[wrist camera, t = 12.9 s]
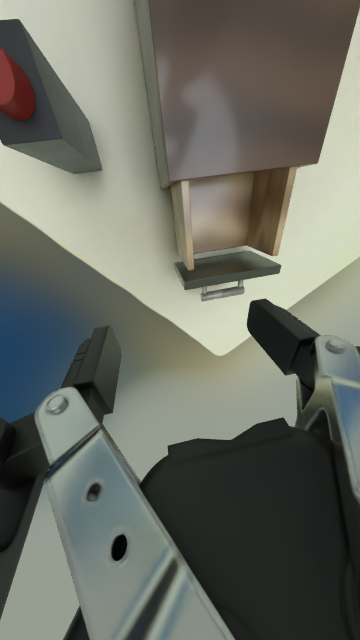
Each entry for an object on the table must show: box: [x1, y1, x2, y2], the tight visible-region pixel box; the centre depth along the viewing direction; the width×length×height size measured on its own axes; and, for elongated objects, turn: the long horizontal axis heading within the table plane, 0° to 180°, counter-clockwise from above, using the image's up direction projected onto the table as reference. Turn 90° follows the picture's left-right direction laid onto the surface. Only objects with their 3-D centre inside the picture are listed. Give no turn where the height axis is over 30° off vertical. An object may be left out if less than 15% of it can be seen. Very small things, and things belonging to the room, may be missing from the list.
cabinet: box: [134, 0, 360, 189], centre depth 15 cm, size 16×15×10 cm
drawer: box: [170, 167, 297, 301], centre depth 23 cm, size 19×13×8 cm
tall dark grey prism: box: [0, 19, 103, 174], centre depth 14 cm, size 4×4×15 cm
